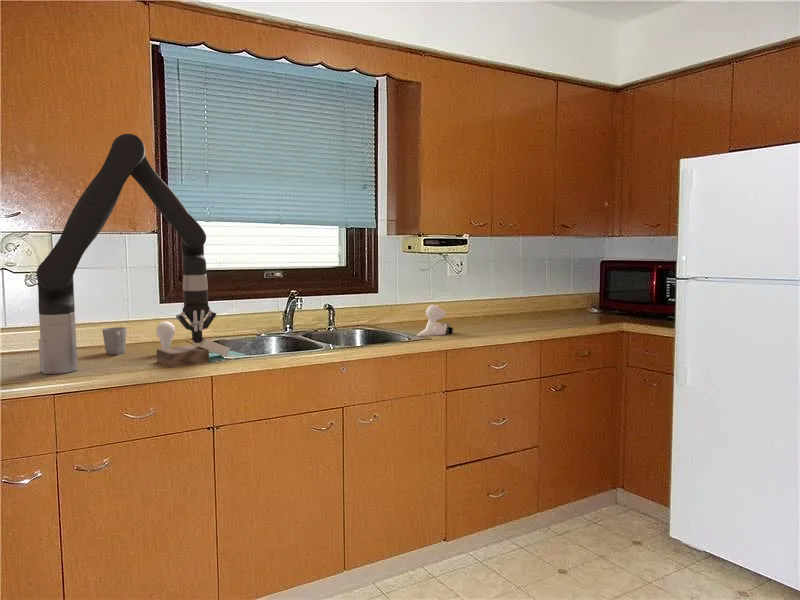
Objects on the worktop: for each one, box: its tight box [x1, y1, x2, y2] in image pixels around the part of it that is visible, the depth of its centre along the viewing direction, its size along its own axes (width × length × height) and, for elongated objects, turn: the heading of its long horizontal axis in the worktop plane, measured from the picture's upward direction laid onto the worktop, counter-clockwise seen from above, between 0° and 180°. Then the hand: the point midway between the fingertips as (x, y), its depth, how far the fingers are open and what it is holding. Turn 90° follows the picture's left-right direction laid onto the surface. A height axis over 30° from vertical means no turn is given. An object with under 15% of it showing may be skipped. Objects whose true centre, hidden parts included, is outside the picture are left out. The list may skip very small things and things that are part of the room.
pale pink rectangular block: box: [195, 337, 232, 357], centre depth 206 cm, size 9×6×3 cm, turn 125°
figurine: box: [416, 304, 454, 337], centre depth 259 cm, size 8×18×12 cm, turn 125°
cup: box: [102, 326, 127, 356], centre depth 215 cm, size 8×10×8 cm
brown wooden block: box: [156, 344, 210, 368], centre depth 200 cm, size 12×12×4 cm
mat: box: [208, 350, 250, 363], centre depth 209 cm, size 14×14×1 cm
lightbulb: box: [155, 321, 176, 349], centre depth 215 cm, size 6×6×11 cm
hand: (197, 342), depth 203 cm, fingers closed
